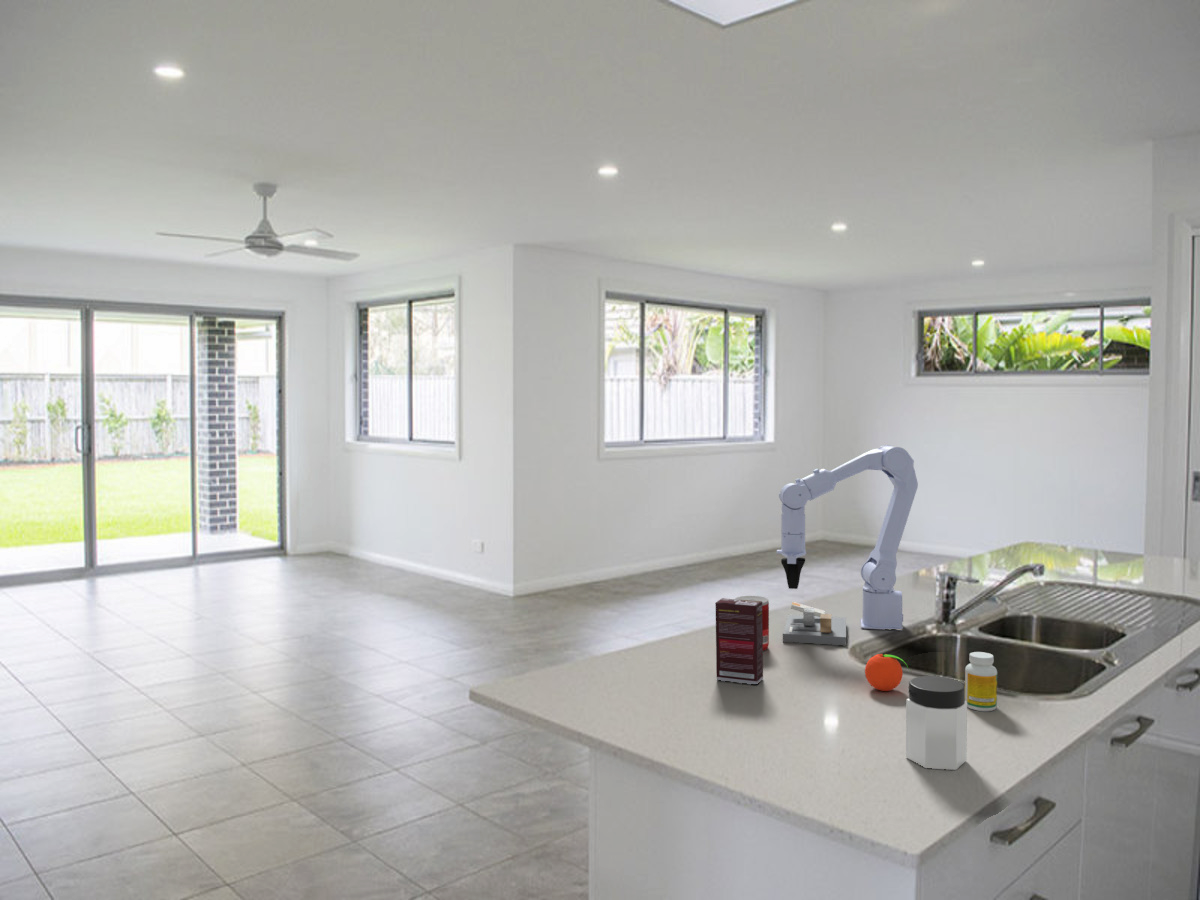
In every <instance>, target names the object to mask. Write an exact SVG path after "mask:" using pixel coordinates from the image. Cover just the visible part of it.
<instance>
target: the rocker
mask: <svg viewBox="0 0 1200 900" xmlns="http://www.w3.org/2000/svg"><path fill="white" fill-rule="evenodd" d="M791 602H792V603H791V607H790V610H794V611H797V612H801V613H803V612H804V608H815V616H817V617H820V616H821V614H826V613H825V612H826V611H825V610H823V609H821V608H820V609H819V608H816V607H812V606H810V605H805V604H803V603H799V602H795V601H791Z"/></svg>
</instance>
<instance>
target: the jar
mask: <svg viewBox="0 0 1200 900" xmlns="http://www.w3.org/2000/svg"><path fill="white" fill-rule="evenodd" d="M905 705H906V706H905V708H906V709H905V758H906V757H907V758H906V759H908V760H910V761H912V762H913V761H914V763H915V762H916V763H915V764H917V763H918V764H917V765H918V766H920V765H921V767H922V766H923V768H924V769H927V768H932V769H931V770H944V769H946V770H947V771H957V770H958V769H959V768H961V766H962V765H963V764H965V762H967V758H968V757H967V752H968V748H967V747H968V743H967V741H968V707H967V702H966V701H965V684H963V683H962V682H960V681H958V680H956V679H952V678H949V677H944V676H936V675H923V676H916V677H912V678H911V679H910V680H909V681H908V698H906V701H905Z"/></svg>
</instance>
